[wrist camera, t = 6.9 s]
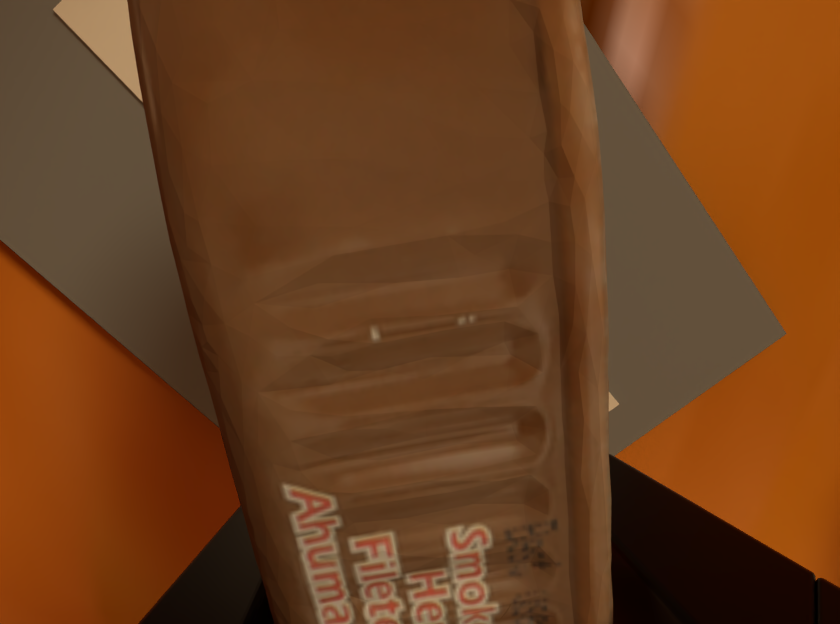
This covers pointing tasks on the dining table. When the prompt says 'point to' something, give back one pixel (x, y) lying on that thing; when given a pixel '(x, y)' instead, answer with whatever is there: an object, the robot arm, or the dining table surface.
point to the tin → (395, 296)
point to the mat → (155, 266)
